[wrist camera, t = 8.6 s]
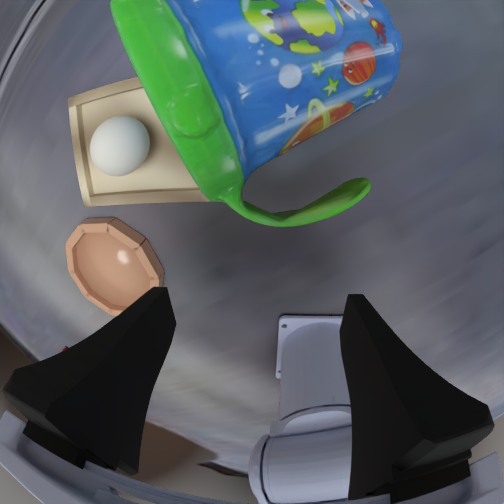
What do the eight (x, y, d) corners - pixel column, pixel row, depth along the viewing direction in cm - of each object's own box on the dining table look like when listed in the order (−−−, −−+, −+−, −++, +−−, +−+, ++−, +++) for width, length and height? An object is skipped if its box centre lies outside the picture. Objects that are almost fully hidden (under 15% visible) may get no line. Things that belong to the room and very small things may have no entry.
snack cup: (266, -22, 12) (128, 25, 12) (317, -112, 2) (73, -64, 2) (359, 160, 18) (227, 223, 18) (481, 183, 8) (258, 313, 8)
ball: (148, 176, 18) (119, 194, 15) (106, 155, 17) (72, 170, 14) (168, 124, 16) (139, 131, 13) (122, 106, 16) (87, 110, 12)
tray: (218, 195, 19) (214, 201, 18) (92, 201, 20) (84, 207, 19) (211, 67, 14) (206, 64, 13) (77, 97, 16) (68, 98, 14)
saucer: (174, 314, 25) (170, 323, 24) (90, 303, 26) (85, 310, 25) (153, 216, 20) (146, 222, 19) (60, 219, 21) (53, 225, 20)
